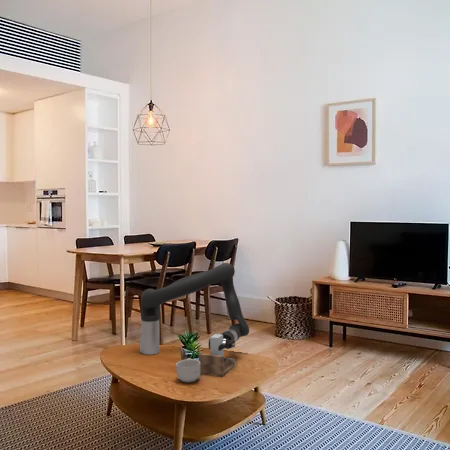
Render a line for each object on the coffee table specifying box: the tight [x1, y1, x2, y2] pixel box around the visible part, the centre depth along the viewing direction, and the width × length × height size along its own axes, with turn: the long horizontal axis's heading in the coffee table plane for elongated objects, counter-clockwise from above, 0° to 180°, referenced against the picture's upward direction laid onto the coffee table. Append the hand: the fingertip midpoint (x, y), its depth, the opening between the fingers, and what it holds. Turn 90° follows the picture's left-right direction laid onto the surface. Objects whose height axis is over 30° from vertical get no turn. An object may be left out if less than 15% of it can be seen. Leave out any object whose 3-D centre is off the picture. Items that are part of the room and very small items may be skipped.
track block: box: [198, 353, 236, 378], centre depth 231 cm, size 12×16×9 cm
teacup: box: [175, 357, 201, 383], centre depth 219 cm, size 14×11×8 cm
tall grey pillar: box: [209, 333, 224, 356], centre depth 230 cm, size 4×6×12 cm, turn 158°
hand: (214, 348), depth 227 cm, fingers closed on tall grey pillar, 4 cm apart
